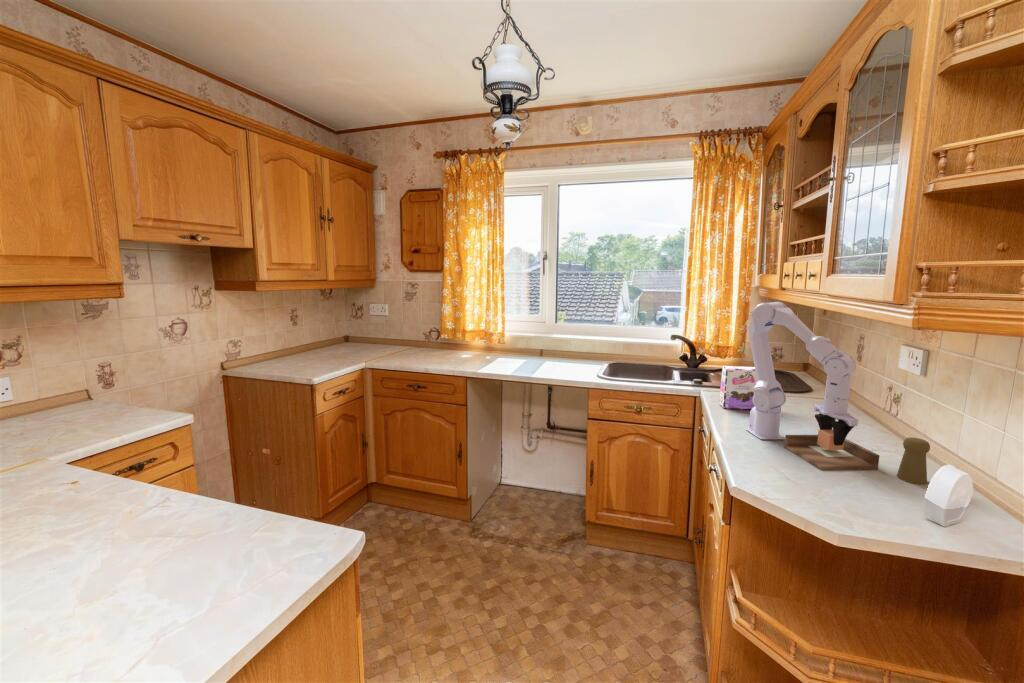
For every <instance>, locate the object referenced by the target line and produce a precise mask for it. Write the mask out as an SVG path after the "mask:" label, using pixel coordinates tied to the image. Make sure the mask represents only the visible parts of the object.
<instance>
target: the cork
mask: <svg viewBox="0 0 1024 683" xmlns="http://www.w3.org/2000/svg"><path fill="white" fill-rule="evenodd" d="M902 446H903V449H904V452H903V455H902V458H901V461H900V464H899V468H898V470H897V473H896V477H897V478H898V479H899V480H901V481H903V482H906V483H909V484H914V485H923V484H924V485H927V484H928V470H927V467H928V466H927V453H929V452H930V449H931V446H930V443H929V441H927V440H925V439H922V438H918V437H912V436H911V437H906V438H905V439H904V440H903V442H902Z"/></svg>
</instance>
